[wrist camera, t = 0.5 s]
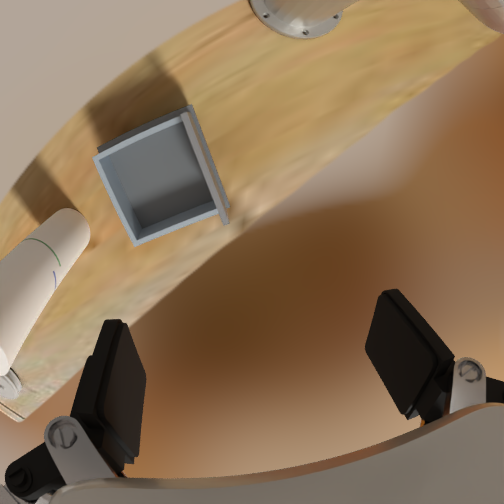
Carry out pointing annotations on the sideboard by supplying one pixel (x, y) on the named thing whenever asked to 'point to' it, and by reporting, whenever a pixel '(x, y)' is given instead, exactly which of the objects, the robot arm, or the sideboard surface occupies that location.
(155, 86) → the sideboard surface
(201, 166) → the grey open box
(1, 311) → the cylindrical container
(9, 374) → the lid
